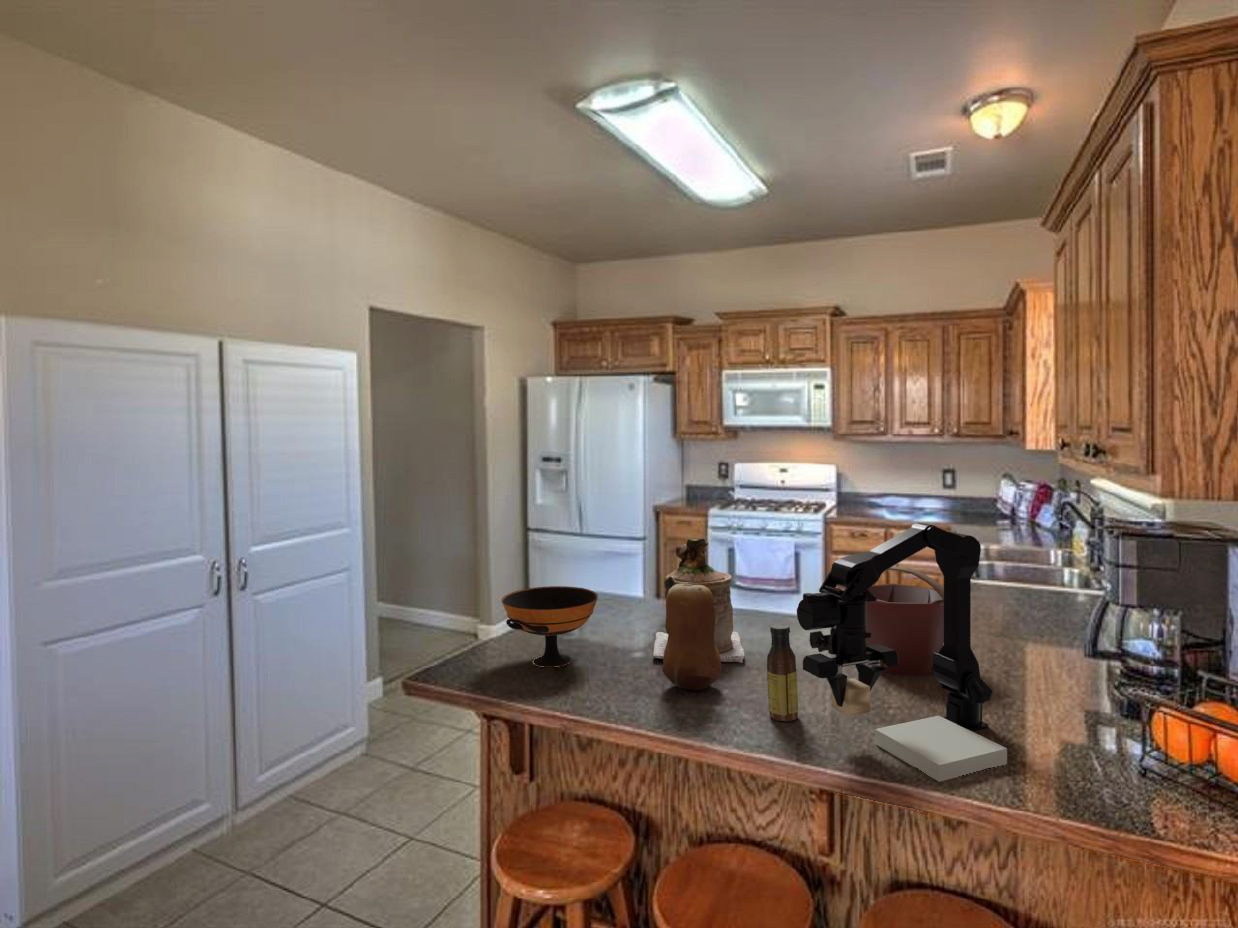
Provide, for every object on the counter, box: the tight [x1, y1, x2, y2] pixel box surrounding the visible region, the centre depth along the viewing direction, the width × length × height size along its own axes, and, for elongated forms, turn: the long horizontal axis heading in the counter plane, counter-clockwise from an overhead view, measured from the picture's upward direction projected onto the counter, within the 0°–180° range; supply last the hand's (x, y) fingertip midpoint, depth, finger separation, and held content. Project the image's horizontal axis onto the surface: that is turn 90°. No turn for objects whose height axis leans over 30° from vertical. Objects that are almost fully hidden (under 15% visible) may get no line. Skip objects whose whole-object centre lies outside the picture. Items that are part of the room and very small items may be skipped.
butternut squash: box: [662, 583, 722, 692], centre depth 170 cm, size 14×13×25 cm
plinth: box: [874, 715, 1008, 783], centre depth 134 cm, size 16×16×3 cm
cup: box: [501, 585, 599, 667], centre depth 190 cm, size 36×26×18 cm
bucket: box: [866, 565, 944, 677], centre depth 184 cm, size 24×22×25 cm
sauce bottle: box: [766, 623, 799, 723], centre depth 152 cm, size 7×6×20 cm
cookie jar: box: [652, 537, 746, 664], centre depth 198 cm, size 25×25×32 cm
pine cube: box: [831, 677, 871, 717], centre depth 139 cm, size 5×5×5 cm
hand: (850, 703), depth 139 cm, fingers closed on pine cube, 5 cm apart
